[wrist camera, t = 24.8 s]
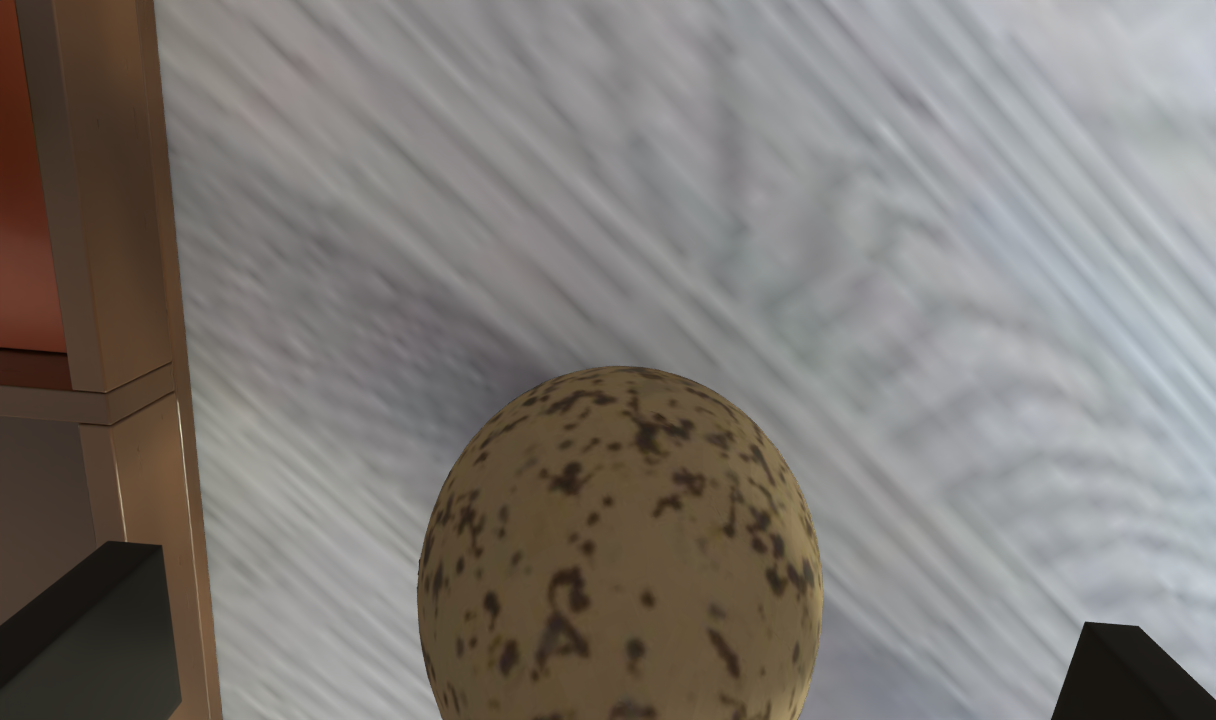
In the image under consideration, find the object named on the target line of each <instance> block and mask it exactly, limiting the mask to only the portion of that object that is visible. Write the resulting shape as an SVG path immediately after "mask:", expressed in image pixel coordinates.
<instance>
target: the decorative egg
mask: <svg viewBox="0 0 1216 720" xmlns="http://www.w3.org/2000/svg"><path fill="white" fill-rule="evenodd" d="M418 575H419V576H418V587H417V605H418V621H419V633H420V640H421V646H422V652H423V657H424V662H425V667H426V671H427V675H428V679H429V682H430V685H431V688H432V691H433V694H434V697H435V699H436V702H437V705H438V708H439V711H440V714H441V717H442V719H443V720H798V718H799V716H800V713H801V710H802V708H803V705H804V702H805V699H806V696H807V693H808V690H809V686H810V682H811V677H812V673H813V669H814V665H815V661H816V656H817V652H818V647H819V640H820V633H821V623H822V608H823V580H822V569H821V562H820V556H819V549H818V543H817V537H816V533H815V529H814V526H813V522H812V518H811V515H810V512H809V509H808V506H807V504H806V501H805V499H804V496H803V494H802V492H801V490H800V487H799V485H798V483H797V481H796V479H795V477H794V475H793V474H792V472H791V470H790V469H789V467H788V465H787V464H786V462H785V460H784V459H783V457H782V455H781V454H780V452H779V451H778V449H777V448H776V447H775V446H774V445H773V444H772V442H771V441H770V440H769V439H768V437H767V436H766V435H765V434H764V432H763V431H762V430H761V429H760V428H759V427H758V426H757V425H756V424H755V423H754V422H753V421H752V420H751V419H750V418H749V417H748V416H747V415H746V414H745V413H744V412H743V411H741V410H740V409H739V408H737V407H736V406H735V405H733V404H732V403H731V402H729V401H728V400H726V399H725V398H724V397H722V396H721V395H719V394H718V393H716V392H714V391H712V390H711V389H709V388H707V387H705V386H703V385H701V384H699V383H697V382H695V381H692V380H690V379H687V378H685V377H682V376H679V375H675V374H672V373H668V372H664V371H660V370H657V369H651V368H643V367H629V366H606V367H598V368H591V369H586V370H581V371H577V372H573V373H569V374H566V375H562V376H559V377H556V378H554V379H551V380H549V381H546V382H544V383H542V384H540V385H539V386H537V387H535V388H533V389H531V390H529V391H527V392H526V393H524V394H522V395H521V396H519V397H518V398H516V399H515V400H513V401H512V402H510V403H509V404H508V405H506V406H505V407H504V408H503V409H502V410H500V411H499V412H498V413H497V414H496V415H494V416H493V417H492V418H491V419H490V420H489V421H488V422H487V423H486V424H485V425H484V426H483V427H482V428H481V429H480V431H479V432H478V433H477V434H476V435H475V436H474V437H473V439H472V440H471V441H470V442H469V444H468V445H467V446H466V448H465V449H464V451H463V452H462V454H461V455H460V457H459V458H458V460H457V461H456V463H455V464H454V466H453V468H452V469H451V471H450V472H449V475H448V477H447V479H446V481H445V483H444V484H443V486H442V489H441V491H440V494H439V496H438V499H437V501H436V504H435V506H434V509H433V511H432V514H431V517H430V521H429V524H428V528H427V531H426V535H425V539H424V543H423V548H422V553H421V557H420V560H419V571H418Z"/></svg>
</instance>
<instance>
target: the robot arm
mask: <svg viewBox="0 0 1216 720" xmlns="http://www.w3.org/2000/svg"><path fill="white" fill-rule="evenodd" d="M181 702H182V696H181V689H180V681H179V673H178V665H177V657H176V649H175V642H174V634H173V626H172V618H171V610H170V602H169V595H168V587H167V579H166V571H165V563H164V555H163V548H162V545H156V544H144V543H131V542H119V541H107V542H105V543H104V544H103V545H102V546H100V547H99V548H98V549H97V550H95V551H94V552H93V553H91V554H90V555H89V556H88V557H86V558H85V559H84V560H83V561H81V562H80V563H79V564H78V565H76V566H75V567H74V568H72V569H71V570H70V571H69V572H67V573H66V574H65V575H64V576H62V577H61V578H60V579H59V580H57V581H56V582H55V583H54V584H52V585H51V586H50V587H48V588H47V589H46V590H45V591H43V592H42V593H41V594H40V595H38V596H37V597H36V598H35V599H33V600H32V601H31V602H29V603H28V604H27V605H26V606H24V607H23V608H22V609H21V610H19V611H18V612H17V613H16V614H14V615H13V616H12V617H10V618H9V619H8V620H7V621H5V622H4V623H3V624H2V625H0V720H168V719H169V718H170V716H171V715H172V714H173V713H174V711H175V710H176V709H177V707H178V706H179V705H180V704H181ZM1051 720H1216V700H1215V699H1214V698H1213V697H1212V696H1211V695H1210V694H1209V693H1208V692H1207V691H1206V690H1205V689H1204V688H1203V687H1202V686H1201V685H1199V684H1198V683H1197V682H1196V681H1195V680H1194V679H1193V678H1192V677H1191V676H1190V675H1189V674H1188V673H1187V672H1186V671H1185V670H1184V669H1183V668H1182V667H1181V666H1180V665H1179V664H1178V663H1176V662H1175V661H1174V660H1173V659H1172V658H1171V657H1170V656H1169V655H1168V654H1167V653H1166V652H1165V651H1164V650H1163V649H1162V648H1161V647H1160V646H1159V645H1158V644H1157V643H1156V642H1154V641H1153V640H1152V639H1151V638H1150V637H1149V636H1148V635H1147V634H1146V633H1145V632H1144V631H1143V630H1142V629H1141V628H1140V627H1139V626H1131V625H1119V624H1107V623H1095V622H1085V623H1084V626H1083V629H1082V632H1081V635H1080V637H1079V640H1078V643H1077V646H1076V649H1075V652H1074V655H1073V658H1072V661H1071V663H1070V666H1069V669H1068V672H1067V675H1066V678H1065V681H1064V684H1063V687H1062V689H1061V692H1060V695H1059V698H1058V701H1057V704H1056V707H1055V710H1054V713H1053V715H1052V718H1051Z"/></svg>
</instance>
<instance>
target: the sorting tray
mask: <svg viewBox="0 0 1216 720" xmlns="http://www.w3.org/2000/svg"><path fill="white" fill-rule="evenodd" d="M107 541H119V542H131V543H144V544H156V545H162V548H163V555H164V563H165V571H166V579H167V587H168V595H169V602H170V610H171V618H172V626H173V634H174V642H175V649H176V657H177V665H178V673H179V681H180V689H181V696H182V702H181V704H180V705H179V706H178V707H177V709H176V710H175V711H174V713H173V714H172V715H171V716H170V718H169V719H168V720H223V719H222V708H221V698H220V688H219V677H218V667H217V657H216V646H215V636H214V625H213V615H212V605H211V594H210V584H209V574H208V563H207V553H206V543H205V532H204V522H203V511H202V501H201V491H200V480H199V470H198V460H197V449H196V439H195V428H194V418H193V408H192V397H191V387H190V377H189V366H188V356H187V345H186V335H185V325H184V314H183V304H182V294H181V283H180V273H179V263H178V252H177V242H176V231H175V221H174V211H173V200H172V190H171V180H170V169H169V159H168V148H167V138H166V128H165V117H164V107H163V97H162V86H161V76H160V65H159V55H158V45H157V34H156V24H155V14H154V3H153V0H0V625H2V624H3V623H4V622H5V621H7V620H8V619H9V618H10V617H12V616H13V615H14V614H16V613H17V612H18V611H19V610H21V609H22V608H23V607H24V606H26V605H27V604H28V603H29V602H31V601H32V600H33V599H35V598H36V597H37V596H38V595H40V594H41V593H42V592H43V591H45V590H46V589H47V588H48V587H50V586H51V585H52V584H54V583H55V582H56V581H57V580H59V579H60V578H61V577H62V576H64V575H65V574H66V573H67V572H69V571H70V570H71V569H72V568H74V567H75V566H76V565H78V564H79V563H80V562H81V561H83V560H84V559H85V558H86V557H88V556H89V555H90V554H91V553H93V552H94V551H95V550H97V549H98V548H99V547H100V546H102V545H103V544H104V543H105V542H107Z"/></svg>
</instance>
